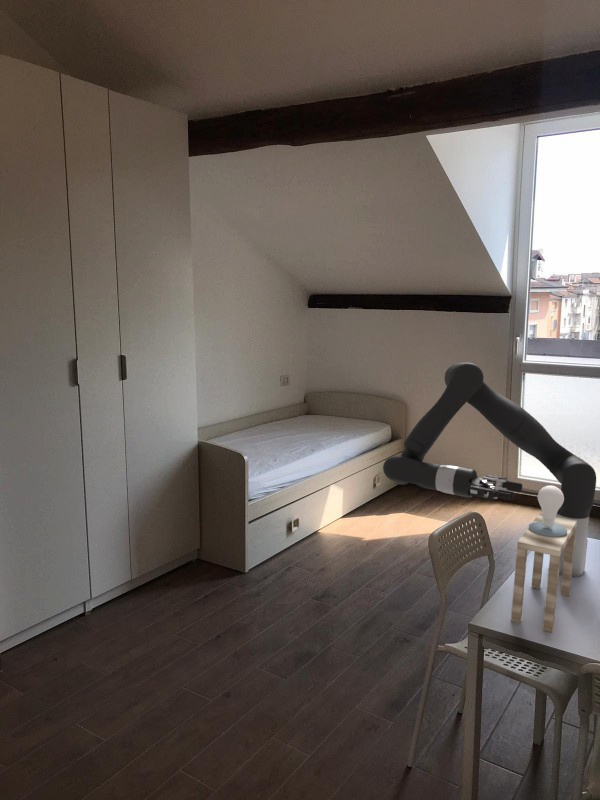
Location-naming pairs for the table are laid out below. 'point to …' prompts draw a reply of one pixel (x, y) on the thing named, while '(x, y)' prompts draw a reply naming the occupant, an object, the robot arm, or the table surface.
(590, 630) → the table surface
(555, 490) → the lightbulb
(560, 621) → the table surface
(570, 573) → the stool
